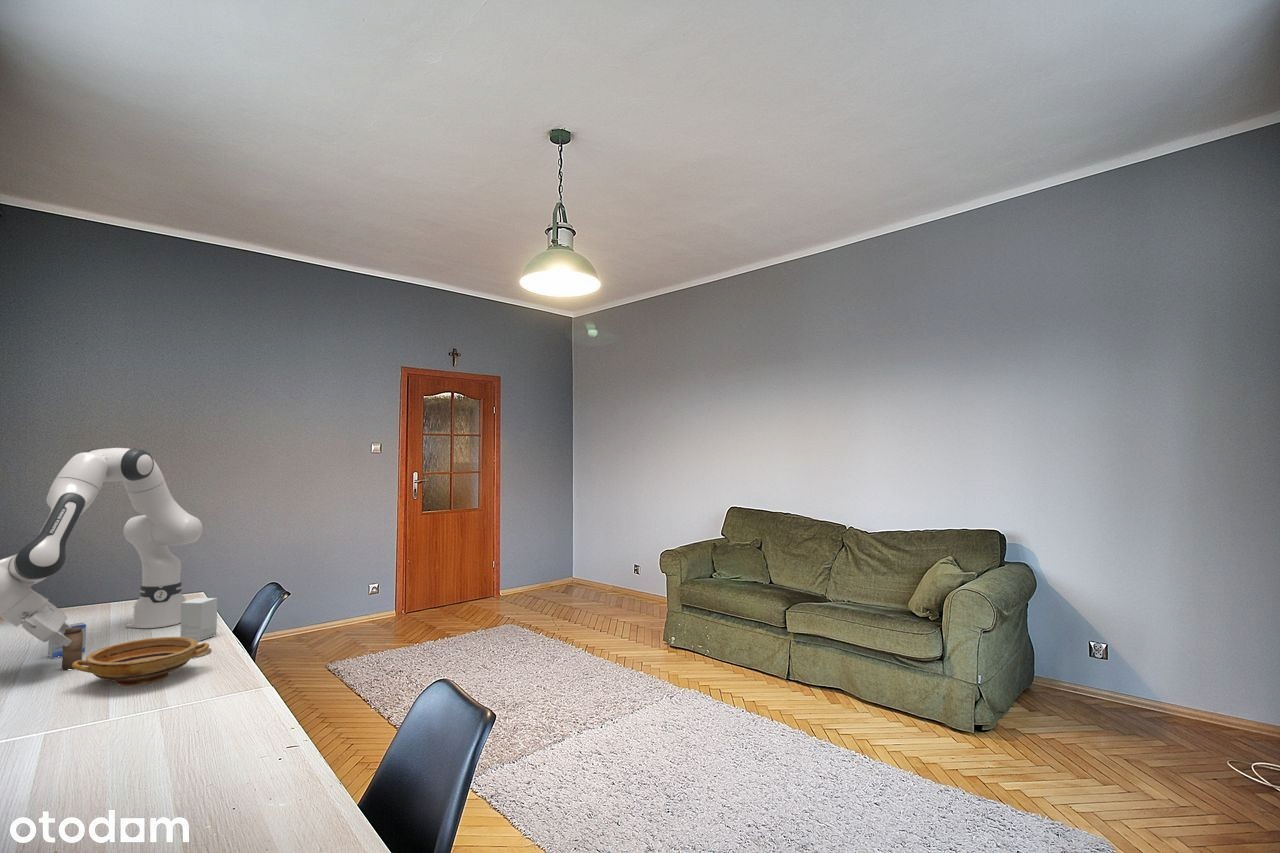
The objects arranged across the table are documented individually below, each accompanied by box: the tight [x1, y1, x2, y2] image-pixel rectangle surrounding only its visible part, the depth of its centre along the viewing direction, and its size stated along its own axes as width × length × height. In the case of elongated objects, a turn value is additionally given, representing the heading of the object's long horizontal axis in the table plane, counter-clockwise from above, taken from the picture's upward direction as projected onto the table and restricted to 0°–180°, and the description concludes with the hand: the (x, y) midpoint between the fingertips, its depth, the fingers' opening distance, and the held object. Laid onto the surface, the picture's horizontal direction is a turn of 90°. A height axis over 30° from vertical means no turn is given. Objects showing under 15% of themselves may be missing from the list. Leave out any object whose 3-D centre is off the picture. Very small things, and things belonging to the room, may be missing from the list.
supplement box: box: [179, 597, 218, 642], centre depth 211 cm, size 7×7×13 cm
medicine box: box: [47, 622, 87, 659], centre depth 194 cm, size 8×4×9 cm, turn 143°
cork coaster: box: [195, 647, 212, 658], centre depth 194 cm, size 10×10×1 cm
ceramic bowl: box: [72, 636, 210, 687], centre depth 174 cm, size 30×24×8 cm
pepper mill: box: [61, 627, 83, 671], centre depth 182 cm, size 4×4×11 cm
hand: (72, 639), depth 182 cm, fingers open, 8 cm apart
